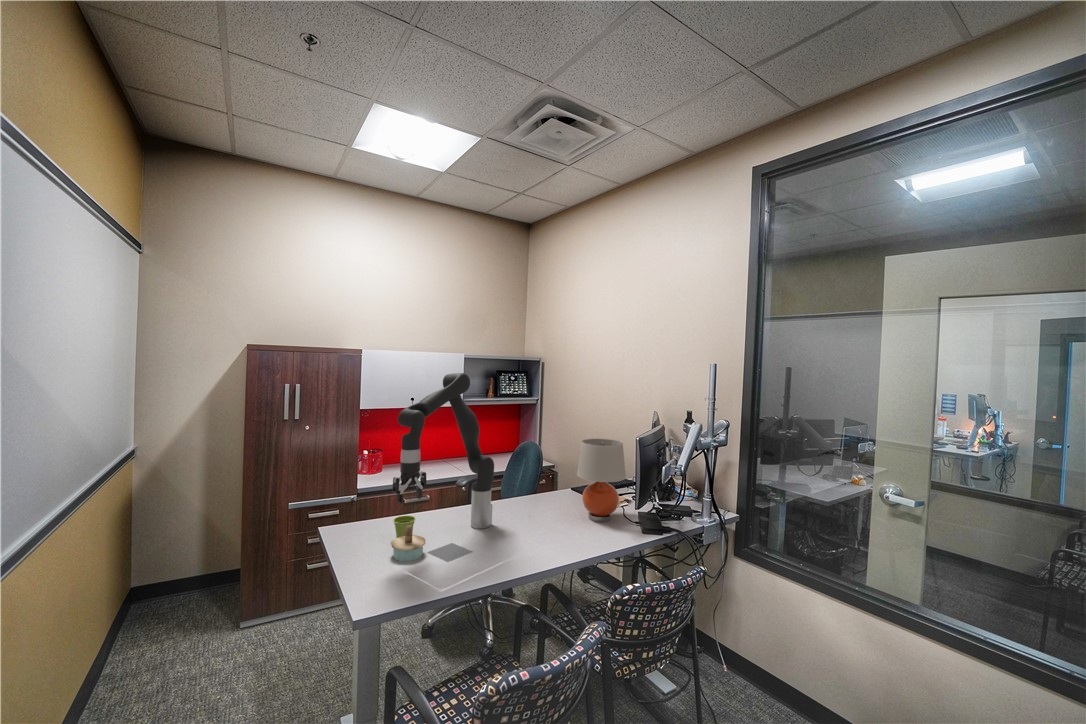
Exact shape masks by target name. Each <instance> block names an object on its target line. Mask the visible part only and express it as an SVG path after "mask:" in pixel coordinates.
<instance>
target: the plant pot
mask: <svg viewBox="0 0 1086 724" xmlns="http://www.w3.org/2000/svg"><path fill="white" fill-rule="evenodd" d="M416 518H417V517H415V516H414V515H400V516H397V517H394V518H393V520H392V521H393V523H394V527H395V534H396V537H395V538H399V537H402V536H405V527H406V526H408V525H411V526H413V527H414V524H415V521H416V520H417V519H416Z"/></svg>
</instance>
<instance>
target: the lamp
mask: <svg viewBox="0 0 1086 724" xmlns="http://www.w3.org/2000/svg"><path fill="white" fill-rule="evenodd" d="M576 476H577V477H579V478H580V479H583V480H585V481H590V482H592V483H590V484H588V485H587V486H586V487H585V488H584V490H583V491H582V492H583V493H582V497H581V498H582V503H583V507H584V508H585V510H586V511H587V512H588V519H589V520H591V521H592V522H596V523H598V522H599V523H608V522H610V521H612V519H613V514H614V512H615V511H616V510H617V508H618V506H619V503H620V496H619V492H618V491H617V489H616V488H615V486H613V485H612V484H610V483H617V482H621V481H624V480H626V478H627V474H626V464H625V453H624V444H623V442H622V441H621V440H615V439H610V438H588V439H587V438H585V439H583V440H581V447H580V452H579V459H578V466H577V473H576Z"/></svg>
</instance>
